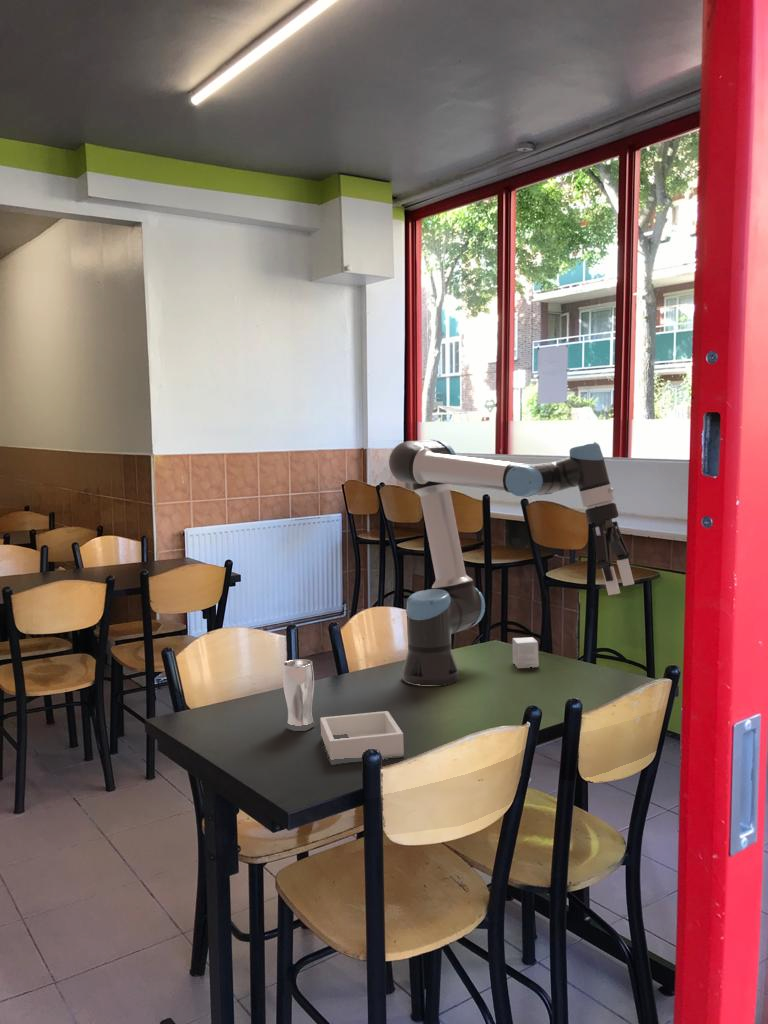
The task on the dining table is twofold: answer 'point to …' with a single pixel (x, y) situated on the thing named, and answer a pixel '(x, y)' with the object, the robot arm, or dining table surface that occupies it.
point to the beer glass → (298, 690)
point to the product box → (525, 652)
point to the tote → (362, 735)
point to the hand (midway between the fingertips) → (621, 589)
